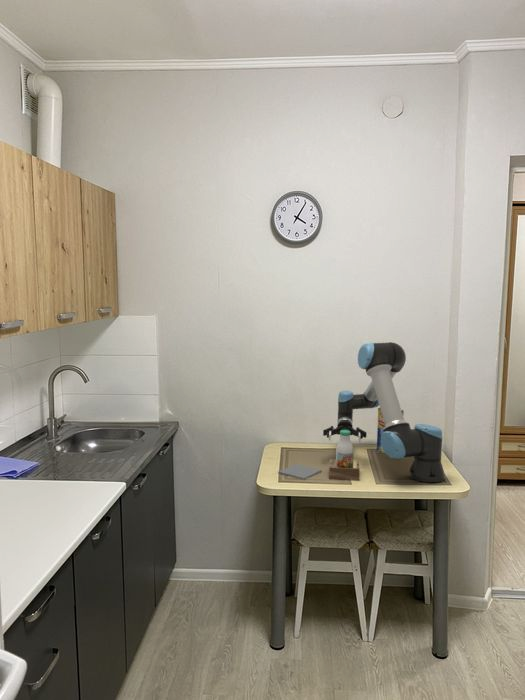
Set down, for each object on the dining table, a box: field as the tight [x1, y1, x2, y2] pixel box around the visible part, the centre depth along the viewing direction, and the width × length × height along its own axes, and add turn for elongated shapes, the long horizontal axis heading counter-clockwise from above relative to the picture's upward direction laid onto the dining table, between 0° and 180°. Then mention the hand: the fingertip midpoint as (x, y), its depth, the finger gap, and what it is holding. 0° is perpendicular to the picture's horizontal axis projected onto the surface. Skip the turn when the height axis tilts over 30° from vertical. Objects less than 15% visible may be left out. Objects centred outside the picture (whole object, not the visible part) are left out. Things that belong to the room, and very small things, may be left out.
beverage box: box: [376, 407, 404, 454], centre depth 292 cm, size 7×11×22 cm, turn 33°
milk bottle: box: [335, 430, 354, 468], centre depth 257 cm, size 8×8×20 cm
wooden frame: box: [328, 458, 360, 481], centre depth 257 cm, size 12×13×5 cm
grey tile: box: [277, 463, 322, 481], centre depth 261 cm, size 14×14×1 cm
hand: (344, 438), depth 267 cm, fingers open, 13 cm apart
